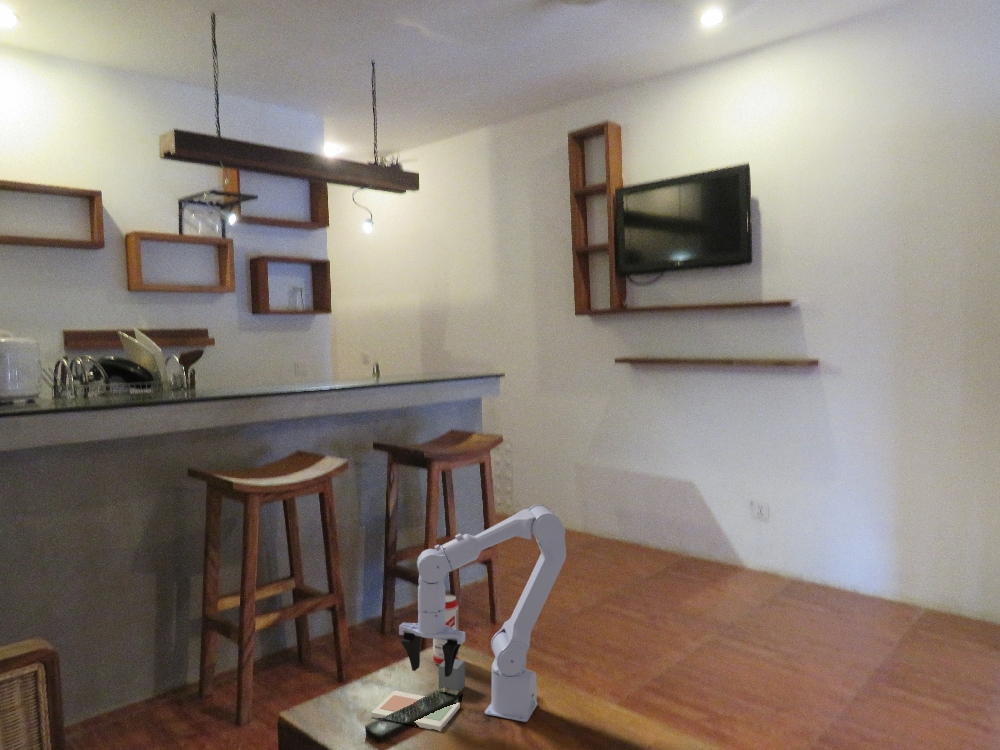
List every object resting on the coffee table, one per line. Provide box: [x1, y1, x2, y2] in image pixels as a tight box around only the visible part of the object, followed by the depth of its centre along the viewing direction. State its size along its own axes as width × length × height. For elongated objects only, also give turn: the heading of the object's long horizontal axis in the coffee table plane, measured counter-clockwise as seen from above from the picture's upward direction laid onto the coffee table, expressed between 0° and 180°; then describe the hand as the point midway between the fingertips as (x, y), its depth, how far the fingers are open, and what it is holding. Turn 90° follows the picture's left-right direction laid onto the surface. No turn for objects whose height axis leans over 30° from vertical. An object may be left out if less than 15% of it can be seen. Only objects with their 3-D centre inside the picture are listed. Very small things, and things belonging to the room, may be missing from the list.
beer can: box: [432, 593, 459, 666], centre depth 171 cm, size 6×6×16 cm
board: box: [370, 690, 461, 732], centre depth 147 cm, size 16×10×1 cm, turn 70°
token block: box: [438, 658, 466, 692], centre depth 158 cm, size 4×4×6 cm
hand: (432, 671), depth 146 cm, fingers open, 7 cm apart
